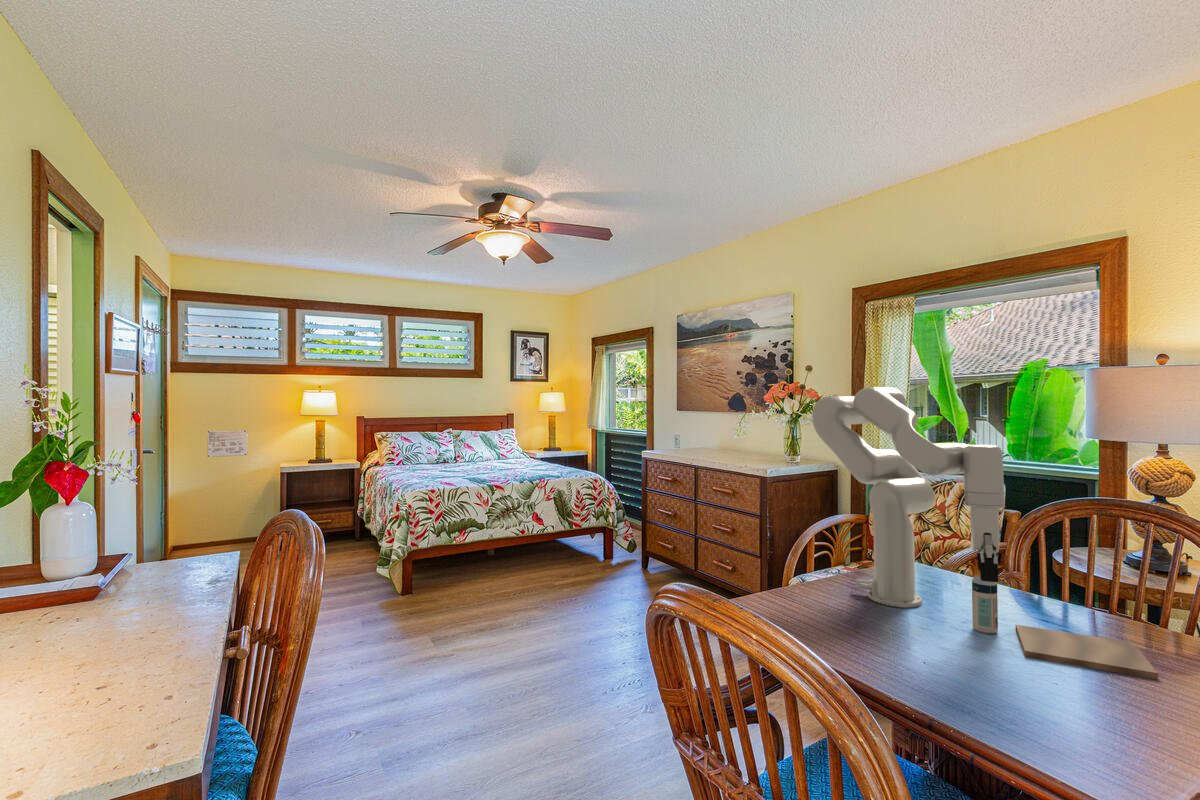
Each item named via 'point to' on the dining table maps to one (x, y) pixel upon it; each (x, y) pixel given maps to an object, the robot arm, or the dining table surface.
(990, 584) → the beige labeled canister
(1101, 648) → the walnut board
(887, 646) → the dining table surface
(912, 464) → the robot arm
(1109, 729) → the dining table surface
